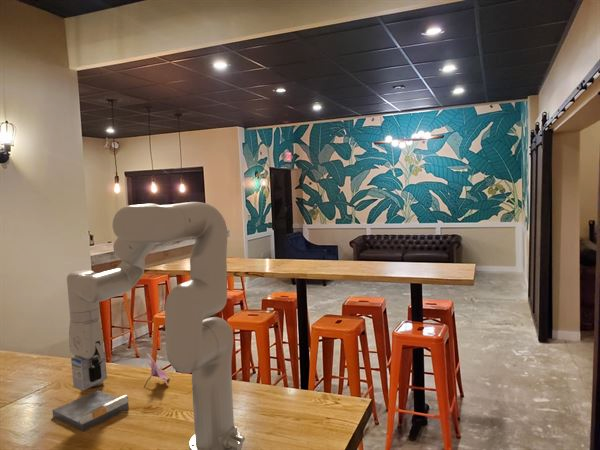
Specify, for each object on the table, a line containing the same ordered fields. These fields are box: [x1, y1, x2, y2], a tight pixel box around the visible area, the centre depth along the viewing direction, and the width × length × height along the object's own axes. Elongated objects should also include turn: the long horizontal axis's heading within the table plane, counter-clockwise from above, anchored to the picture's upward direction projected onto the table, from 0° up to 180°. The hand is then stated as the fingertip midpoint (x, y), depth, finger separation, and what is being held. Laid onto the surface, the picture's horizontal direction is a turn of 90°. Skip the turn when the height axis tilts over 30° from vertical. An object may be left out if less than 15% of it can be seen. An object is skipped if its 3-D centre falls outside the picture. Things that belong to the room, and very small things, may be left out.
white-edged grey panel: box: [51, 390, 130, 432], centre depth 132 cm, size 15×14×4 cm
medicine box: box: [70, 350, 108, 391], centre depth 131 cm, size 8×4×9 cm, turn 152°
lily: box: [143, 352, 171, 388], centre depth 149 cm, size 12×12×10 cm
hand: (90, 377), depth 131 cm, fingers closed on medicine box, 4 cm apart
